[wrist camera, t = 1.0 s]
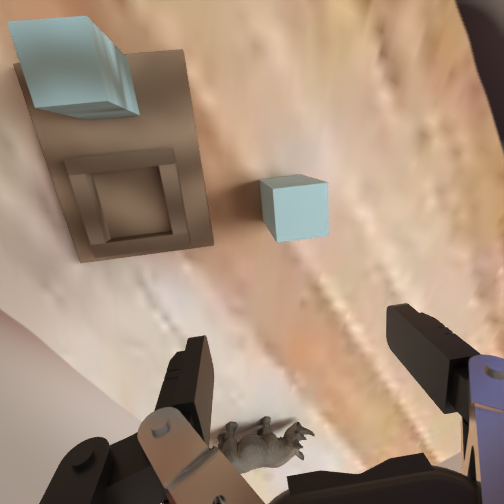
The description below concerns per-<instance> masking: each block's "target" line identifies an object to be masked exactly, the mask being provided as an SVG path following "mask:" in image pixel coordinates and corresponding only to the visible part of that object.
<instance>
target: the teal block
mask: <svg viewBox="0 0 504 504" xmlns="http://www.w3.org/2000/svg"><path fill="white" fill-rule="evenodd" d="M259 180H260V191H261V202H262V213H263V221H264V223H265V225H266V226H267V228H268V229H269V231H270V233H271V234H272V236H273V237H274V239H275V241H276V242H277V243H279V242H287V241H294V240H302V239H309V238H317V237H324V236H329V225H328V182H325V181H322V180H318V179H315V178H311V177H308V176H304V175H293V176H285V177H276V178H268V179H259Z"/></svg>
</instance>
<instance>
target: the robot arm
mask: <svg viewBox="0 0 504 504" xmlns="http://www.w3.org/2000/svg"><path fill="white" fill-rule="evenodd" d="M386 338H387V342H388V345H389V347H390V349H391V351H392V352H393V353H394V354H395V356H396V357H397V358H398V359H399V360H400V362H401V363H402V364H403V365H404V366H405V368H406V369H407V370H408V371H409V372H410V374H411V375H412V376H413V377H414V378H415V380H416V381H417V382H418V383H419V384H420V386H421V387H422V388H423V389H424V390H425V392H426V393H427V394H428V395H429V396H430V398H431V399H432V400H433V401H434V402H435V404H436V405H437V406H438V407H439V408H440V410H441V411H442V412H443V413H444V414H448V413H454V412H458V413H459V414H460V415H461V416H462V418H461V451H462V474H461V473H458V472H455V471H453V470H450V469H447V468H442V467H438V466H432V465H431V464H430V462H429V461H428V459H427V458H426V456H425V455H424V453H419V454H413V455H407V456H401V457H396V458H390V459H388V460H386V461H384V462H382V463H380V464H379V465H377V466H375V467H373V468H371V469H369V470H367V471H365V472H363V473H361V474H349V473H340V472H330V471H315V472H309V473H304V474H298V475H292V476H287V481H288V488H289V489H288V490H286V491H284V492H283V493H281V494H280V495H278V496H277V497H275V498H274V499H273V500H272V501H271V502H270V503H269V504H504V359H503V358H500V357H496V356H492V355H481V354H480V353H479V352H477V351H476V350H475V349H474V348H472V347H471V346H470V345H469V344H467V343H466V342H465V341H463V340H462V339H461V338H460V337H458V336H457V335H456V334H453V332H452V331H451V330H449V329H448V328H447V327H445V326H444V325H443V324H442V323H440V322H439V321H438V320H437V319H435V318H433V317H431V316H429V315H427V314H424V313H419V312H417V311H416V310H415V309H414V308H412V307H411V306H410V305H409V304H407V303H404V304H398V305H392V306H388V307H387V318H386ZM213 387H214V369H213V363H212V358H211V354H210V350H209V345H208V341H207V337H206V336H205V335H204V336H198V337H192V338H188V340H187V344H186V349H185V351H180V352H177V353H176V354H175V355H174V356H173V358H172V359H171V360H170V362H169V365H168V368H167V373H166V375H165V378H164V381H163V385H162V388H161V391H160V394H159V398H158V401H157V404H156V408H155V411H154V412H152V413H151V414H150V415H148V416H147V417H146V418H145V419H144V421H143V422H142V423H141V425H140V427H139V429H138V432H137V433H135V434H134V435H132V436H130V437H127V438H125V439H123V440H121V441H119V442H116V443H114V444H112V445H109V443H108V441H107V440H106V439H105V438H102V437H94V438H90V439H88V440H85V441H83V442H81V443H80V444H78V445H77V446H75V447H74V448H73V449H72V450H70V451H69V452H68V453H67V455H66V456H65V457H64V458H63V459H62V461H61V463H60V464H59V466H58V468H57V470H56V472H55V474H54V476H53V478H52V480H51V482H50V484H49V486H48V488H47V490H46V492H45V494H44V495H43V497H42V499H41V501H40V503H39V504H160V503H162V504H265V503H264V502H263V501H262V499H261V498H260V497H259V496H258V495H257V494H256V492H255V491H254V490H253V489H252V488H251V486H250V485H249V484H248V483H247V482H246V481H245V479H244V478H243V477H242V476H241V475H240V473H239V472H238V471H237V470H236V469H235V467H234V466H233V465H232V464H231V463H230V462H229V460H228V459H227V458H226V457H225V456H224V454H223V453H222V452H221V451H220V450H219V449H218V448H217V447H215V446H213V447H212V448H211V449H210V448H209V438H210V425H211V412H212V399H213Z"/></svg>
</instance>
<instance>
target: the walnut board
mask: <svg viewBox="0 0 504 504" xmlns="http://www.w3.org/2000/svg"><path fill="white" fill-rule="evenodd" d="M7 25H8V28H9V31H10V34H11V37H12V40H13V43H14V46H15V49H16V52H17V55H18V58H19V61H20V63H16V64H13V65H14V68H15V71H16V74H17V77H18V80H19V83H20V86H21V89H22V92H23V95H24V98H25V101H26V104H27V107H28V109H29V112H30V115H31V118H32V121H33V124H34V127H35V130H36V133H37V136H38V139H39V142H40V145H41V148H42V151H43V154H44V157H45V160H46V163H47V166H48V169H49V171H50V174H51V177H52V180H53V183H54V186H55V189H56V192H57V195H58V198H59V201H60V204H61V207H62V210H63V213H64V216H65V219H66V222H67V225H68V228H69V231H70V233H71V236H72V239H73V242H74V245H75V248H76V251H77V254H78V257H79V260H80V263H85V262H93V261H100V260H108V259H115V258H123V257H131V256H138V255H146V254H153V253H161V252H168V251H176V250H184V249H191V248H199V247H206V246H214V241H213V234H212V228H211V222H210V215H209V209H208V203H207V196H206V190H205V183H204V177H203V171H202V164H201V158H200V152H199V145H198V139H197V133H196V126H195V120H194V114H193V107H192V101H191V95H190V88H189V82H188V76H187V69H186V63H185V57H184V52H183V49H181V50H169V51H157V52H145V53H133V54H123V53H122V52H121V51H120V50H119V49H118V48H117V47H116V46H115V45H114V44H113V42H112V41H111V40H110V39H109V38H108V37H107V36H106V35H105V34H104V33H103V32H102V31H101V30H100V29H99V28H98V27H97V26H96V25H95V24H94V23H93V22H92V21H91V20H90V19H89V18H88V17H87V16H77V17H64V18H50V19H37V20H24V21H10V22H7Z"/></svg>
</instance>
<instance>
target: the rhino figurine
mask: <svg viewBox="0 0 504 504" xmlns="http://www.w3.org/2000/svg"><path fill="white" fill-rule="evenodd" d="M270 420H271V418H270V417H267V416H266V417H264V418H263V419H262V420H261V424H262V426H263V427H262V429H260V430H259V431H258V433H257V435H247V436H245V437H244V438H242V439H241V440H240V441H239V442H238V443H237V440H236V439H235V438H234V431H235V430H236V428H237V423H236V422H230V423H229V424H227V426H226V430H227V433H226V434H222V435H219V436H218V438H217V439H218V441H219V445H218V449H219V450H220V451H221V452H222V453H223V454H224V456H225V457H226V458H227V459H228V460H229V462H230V463H231V464H232V465H233V466H234V467H235V469H236V470H237V471H238V472H239V473H240V474H242V473H246V472H248V471H250V470H253V469H256V468H261V467H270V468H277V467H280V466H282V465H284V464H285V463H286V462H287V461H289V460H290V459H291V458H292V457H293V456H294V455H296V456H298V457H299V458H300V459H302V460H304V455H303V453H302V452H300V451H299V449H300V448H303V446H301V444H300V443H299V441H300V440H307V439H306V438H305V437H304V435H305V434H310V435H312V436H315V434H314V433H313V432H312V431H310V430H308V429H306V428H304V427H302V426H301V424H300V423H299V422H297V423H294V424H293V425H292V426H291V427H289V428H288V429H287V430H286V432H285V434H284V437H283V438H282V437H280V438H277V437H276V435H275V434H273V432H272V430H271V429H270V428H269V424H270V422H271V421H270Z"/></svg>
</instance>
